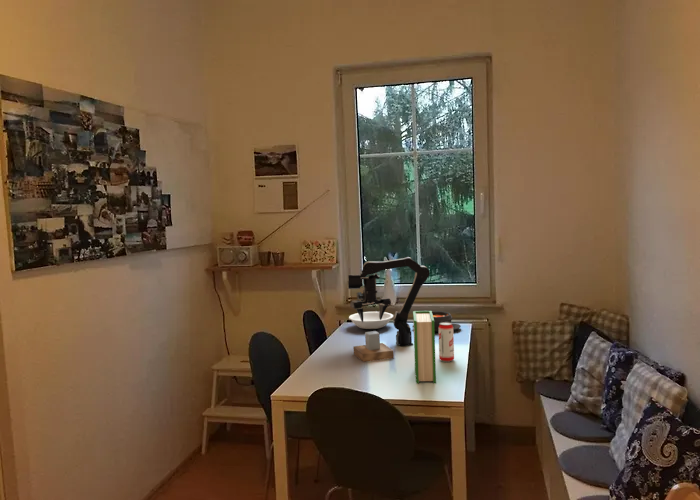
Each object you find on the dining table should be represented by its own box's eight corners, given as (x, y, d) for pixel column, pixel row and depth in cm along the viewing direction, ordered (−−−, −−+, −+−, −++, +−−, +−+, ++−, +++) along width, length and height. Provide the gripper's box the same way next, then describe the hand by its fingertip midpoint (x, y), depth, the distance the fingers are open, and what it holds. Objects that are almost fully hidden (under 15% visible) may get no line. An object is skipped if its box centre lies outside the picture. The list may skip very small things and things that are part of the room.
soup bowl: (365, 321, 322) (365, 310, 322) (402, 325, 308) (401, 313, 308) (340, 330, 303) (339, 318, 302) (378, 335, 289) (377, 322, 288)
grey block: (376, 346, 255) (375, 330, 255) (380, 348, 251) (379, 333, 250) (365, 347, 254) (365, 332, 253) (369, 350, 249) (368, 334, 249)
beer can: (455, 358, 243) (454, 322, 242) (453, 362, 237) (452, 325, 236) (440, 357, 245) (439, 321, 244) (438, 362, 239) (437, 324, 238)
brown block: (382, 351, 261) (382, 342, 261) (393, 359, 248) (393, 350, 248) (353, 355, 257) (353, 346, 257) (363, 363, 244) (363, 354, 244)
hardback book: (436, 383, 213) (434, 320, 211) (416, 383, 214) (414, 320, 211) (433, 368, 230) (431, 310, 228) (414, 369, 231) (413, 311, 229)
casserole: (462, 326, 301) (461, 310, 301) (459, 334, 284) (458, 318, 283) (415, 325, 308) (415, 310, 307) (409, 333, 290) (409, 317, 290)
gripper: (381, 284, 278) (383, 315, 280) (345, 287, 272) (347, 319, 274) (390, 287, 268) (392, 319, 269) (353, 291, 262) (355, 324, 263)
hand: (371, 320), depth 269 cm, fingers open, 9 cm apart
